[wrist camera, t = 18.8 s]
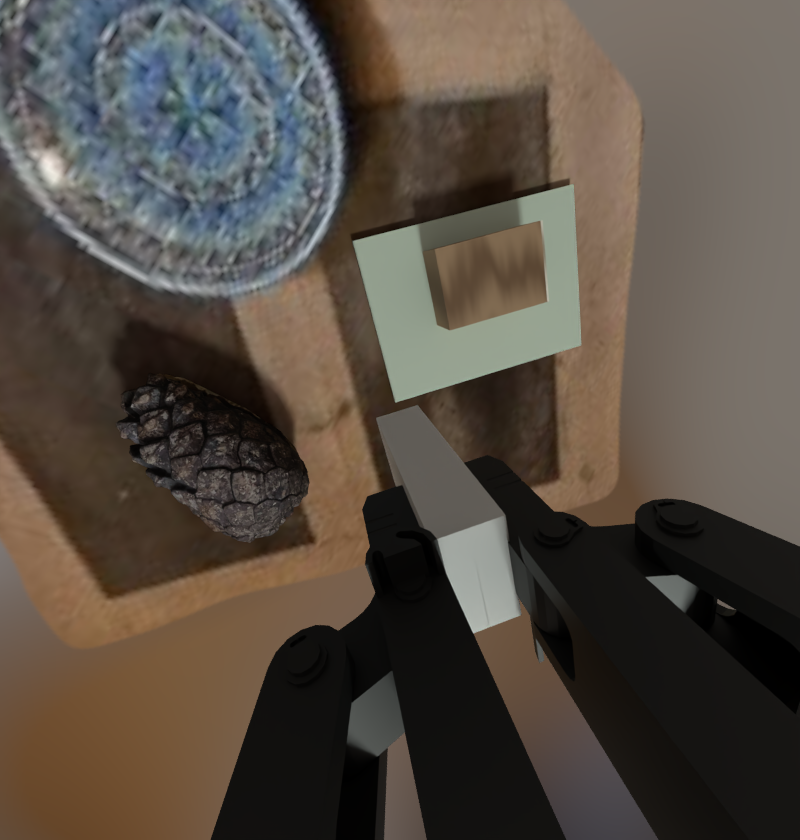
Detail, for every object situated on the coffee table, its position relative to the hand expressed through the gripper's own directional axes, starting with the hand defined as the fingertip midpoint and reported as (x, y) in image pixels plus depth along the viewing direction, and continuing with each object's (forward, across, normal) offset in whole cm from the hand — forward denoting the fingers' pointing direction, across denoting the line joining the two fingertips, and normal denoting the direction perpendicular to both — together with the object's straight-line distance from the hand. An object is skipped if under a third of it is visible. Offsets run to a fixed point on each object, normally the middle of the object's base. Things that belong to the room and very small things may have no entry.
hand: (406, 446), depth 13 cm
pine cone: (+27, -15, -7) cm, 31 cm away
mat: (+26, +14, 0) cm, 30 cm away
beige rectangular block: (+24, +9, +2) cm, 26 cm away
